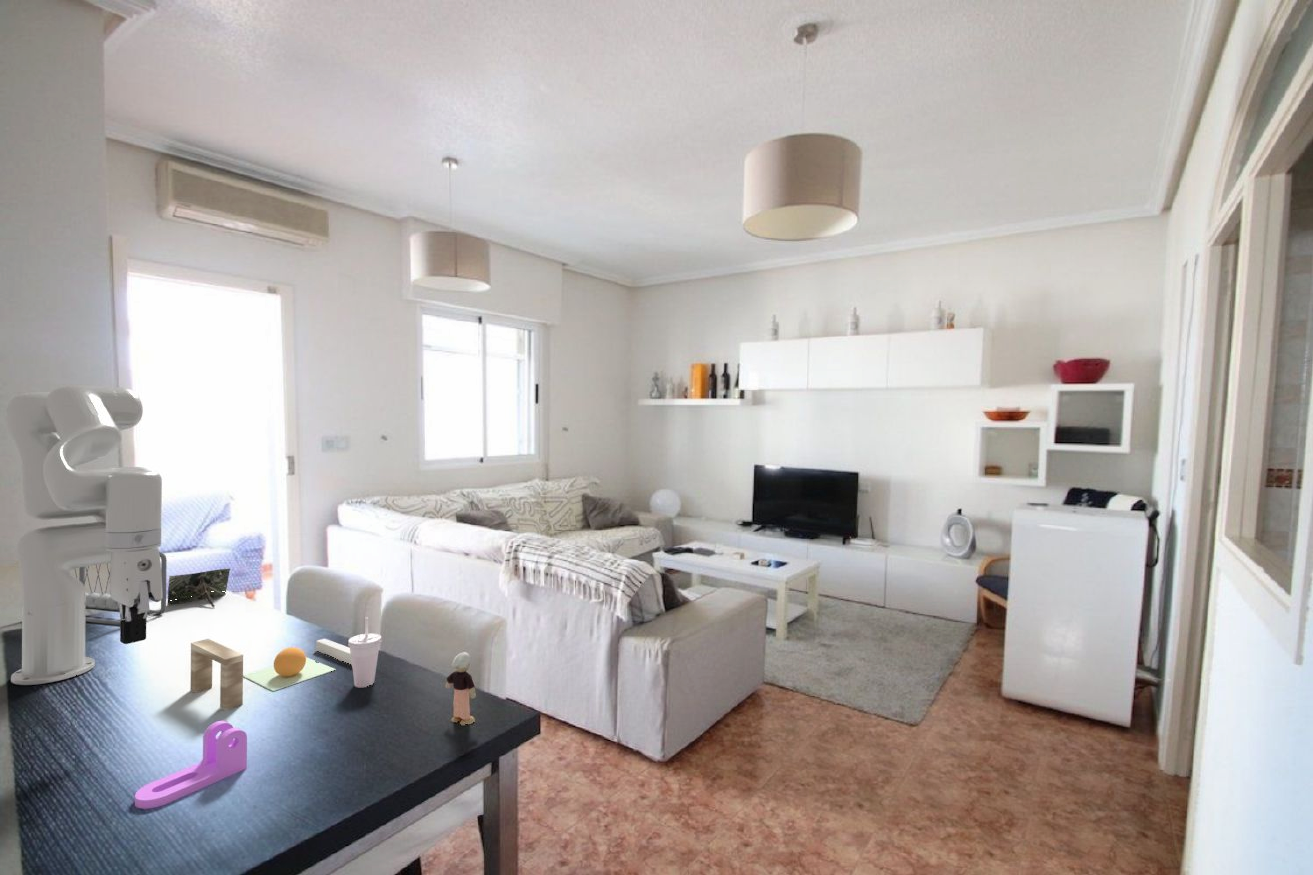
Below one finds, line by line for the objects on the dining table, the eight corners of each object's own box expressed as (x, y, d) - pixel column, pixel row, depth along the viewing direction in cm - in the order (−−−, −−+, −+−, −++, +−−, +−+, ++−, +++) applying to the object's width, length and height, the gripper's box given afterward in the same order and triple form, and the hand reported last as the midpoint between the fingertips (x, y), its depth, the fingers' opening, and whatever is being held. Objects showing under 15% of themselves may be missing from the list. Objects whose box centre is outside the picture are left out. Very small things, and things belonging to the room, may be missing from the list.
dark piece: (165, 605, 175) (179, 631, 168) (169, 576, 172) (184, 601, 165) (225, 593, 187) (240, 617, 180) (229, 566, 184) (246, 589, 177)
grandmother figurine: (484, 718, 112) (485, 652, 112) (471, 728, 108) (473, 659, 108) (450, 711, 114) (451, 646, 114) (437, 720, 111) (438, 653, 111)
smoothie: (387, 678, 129) (388, 614, 128) (369, 691, 122) (370, 623, 122) (359, 676, 129) (360, 612, 129) (340, 689, 123) (341, 622, 123)
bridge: (224, 710, 113) (225, 659, 113) (190, 690, 121) (190, 642, 121) (242, 704, 115) (243, 654, 115) (207, 685, 123) (208, 638, 123)
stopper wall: (316, 651, 143) (316, 640, 143) (324, 648, 144) (324, 638, 144) (354, 666, 134) (355, 655, 134) (363, 663, 136) (363, 652, 136)
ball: (299, 641, 133) (300, 668, 133) (268, 649, 128) (269, 677, 128) (310, 646, 129) (311, 674, 129) (279, 654, 125) (280, 683, 124)
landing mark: (242, 676, 128) (242, 675, 128) (304, 657, 139) (304, 656, 139) (273, 691, 121) (273, 690, 121) (335, 670, 132) (335, 669, 132)
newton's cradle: (38, 617, 162) (39, 552, 162) (82, 606, 172) (82, 545, 172) (127, 626, 156) (127, 559, 156) (167, 614, 167) (167, 551, 166)
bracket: (229, 759, 97) (229, 716, 97) (246, 769, 94) (247, 726, 94) (128, 801, 86) (128, 753, 86) (144, 814, 83) (144, 765, 83)
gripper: (177, 541, 106) (176, 643, 106) (143, 532, 114) (143, 627, 114) (122, 548, 99) (122, 657, 100) (91, 537, 107) (90, 638, 107)
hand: (133, 640), depth 107 cm, fingers closed
